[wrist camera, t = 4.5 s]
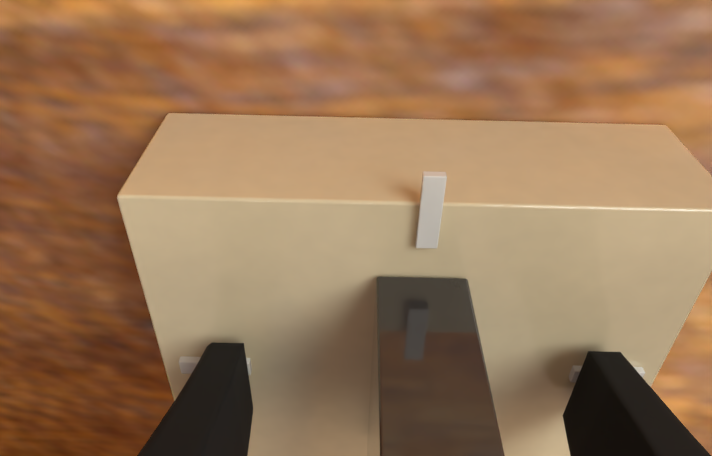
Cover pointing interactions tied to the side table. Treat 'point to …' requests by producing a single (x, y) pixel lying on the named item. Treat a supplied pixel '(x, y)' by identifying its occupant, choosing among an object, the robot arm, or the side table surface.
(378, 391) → the tap handle
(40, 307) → the side table surface
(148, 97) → the side table surface
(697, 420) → the side table surface
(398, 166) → the block
